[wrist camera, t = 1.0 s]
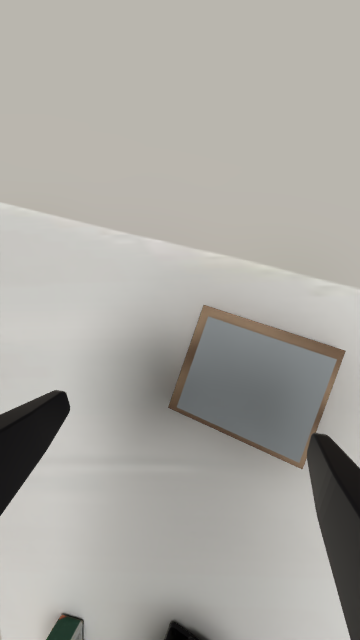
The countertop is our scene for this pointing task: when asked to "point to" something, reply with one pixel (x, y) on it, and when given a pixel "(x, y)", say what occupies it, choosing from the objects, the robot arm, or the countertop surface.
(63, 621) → the crayon box
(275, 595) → the countertop surface
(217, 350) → the top brick
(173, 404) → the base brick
